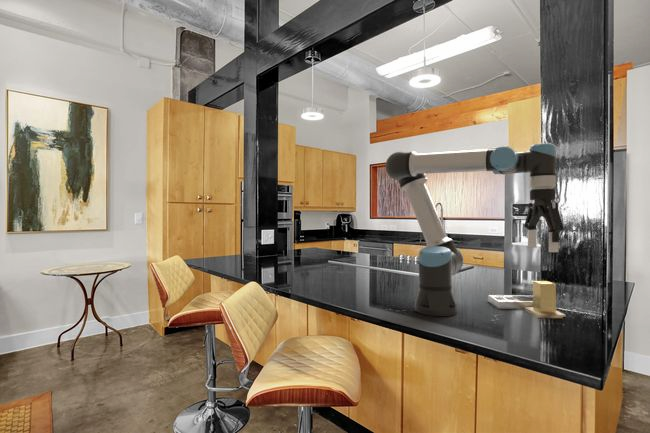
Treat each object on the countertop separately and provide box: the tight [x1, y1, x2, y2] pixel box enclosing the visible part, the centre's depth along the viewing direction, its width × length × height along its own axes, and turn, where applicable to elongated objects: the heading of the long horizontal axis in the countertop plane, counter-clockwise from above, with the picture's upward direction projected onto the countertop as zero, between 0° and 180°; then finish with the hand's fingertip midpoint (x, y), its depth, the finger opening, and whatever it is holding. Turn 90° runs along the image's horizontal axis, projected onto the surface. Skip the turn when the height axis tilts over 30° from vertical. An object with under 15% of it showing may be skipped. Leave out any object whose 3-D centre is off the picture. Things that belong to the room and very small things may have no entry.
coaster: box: [523, 307, 567, 319], centre depth 119 cm, size 9×9×2 cm
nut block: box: [532, 280, 557, 313], centre depth 118 cm, size 5×5×10 cm
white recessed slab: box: [487, 294, 533, 310], centre depth 130 cm, size 18×10×3 cm, turn 84°
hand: (542, 249), depth 118 cm, fingers open, 13 cm apart
